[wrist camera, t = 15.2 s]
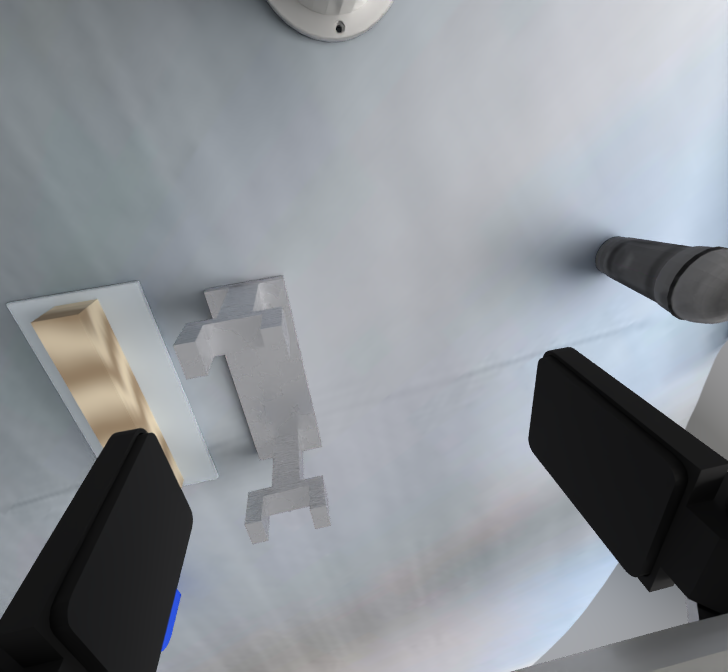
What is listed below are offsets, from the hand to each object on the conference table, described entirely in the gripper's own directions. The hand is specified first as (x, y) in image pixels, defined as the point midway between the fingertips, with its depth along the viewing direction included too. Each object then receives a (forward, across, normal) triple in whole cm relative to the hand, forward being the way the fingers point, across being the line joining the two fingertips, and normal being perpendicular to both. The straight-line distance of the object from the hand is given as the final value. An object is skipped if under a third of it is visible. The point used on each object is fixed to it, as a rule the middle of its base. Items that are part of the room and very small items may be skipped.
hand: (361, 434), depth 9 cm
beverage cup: (+33, -36, +10) cm, 50 cm away
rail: (+32, +23, +18) cm, 43 cm away
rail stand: (+33, +7, +18) cm, 38 cm away
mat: (+32, +23, +18) cm, 44 cm away
